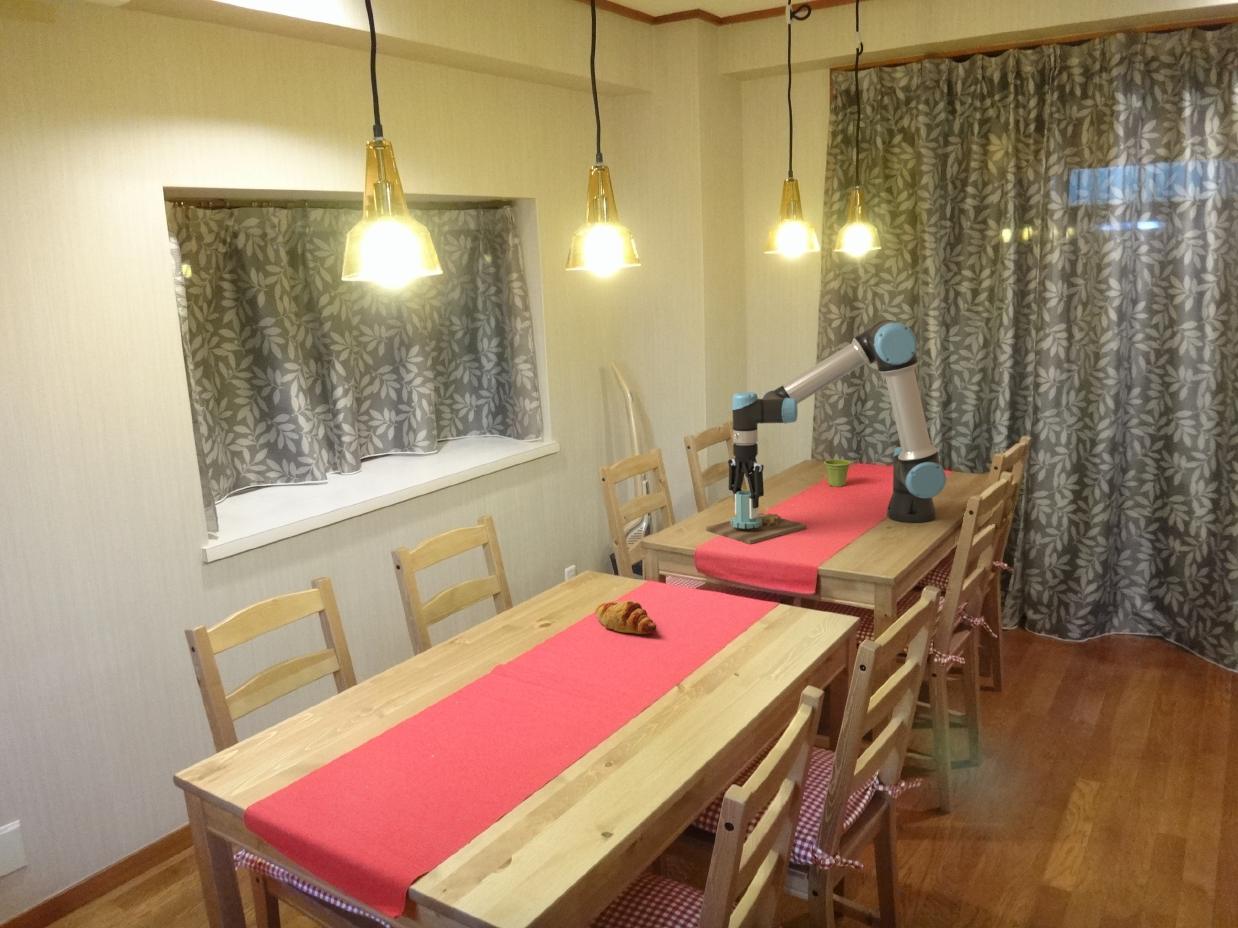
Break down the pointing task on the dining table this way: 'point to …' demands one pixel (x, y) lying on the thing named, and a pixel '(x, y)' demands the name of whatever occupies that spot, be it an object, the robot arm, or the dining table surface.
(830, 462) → the plant pot
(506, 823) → the dining table surface
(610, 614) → the croissant
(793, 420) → the robot arm
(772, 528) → the carrier board
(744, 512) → the gear
